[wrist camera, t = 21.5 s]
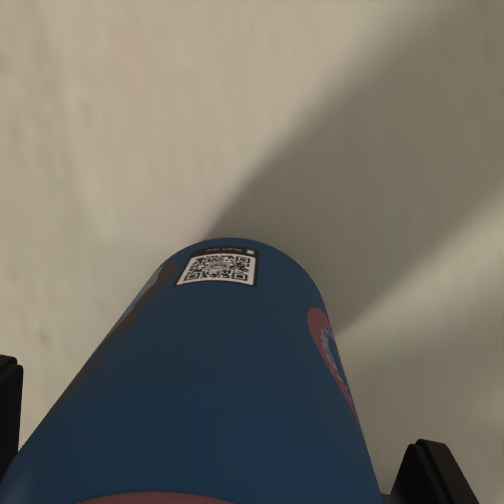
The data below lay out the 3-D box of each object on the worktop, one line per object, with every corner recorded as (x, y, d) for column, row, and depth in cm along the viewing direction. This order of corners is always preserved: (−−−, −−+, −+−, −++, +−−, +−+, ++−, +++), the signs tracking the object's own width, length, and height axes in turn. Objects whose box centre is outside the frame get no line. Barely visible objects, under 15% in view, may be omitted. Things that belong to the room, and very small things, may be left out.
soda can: (319, 393, 18) (404, 849, 7) (152, 390, 19) (-37, 825, 7) (326, 229, 16) (463, 478, 5) (140, 228, 17) (-148, 463, 5)
